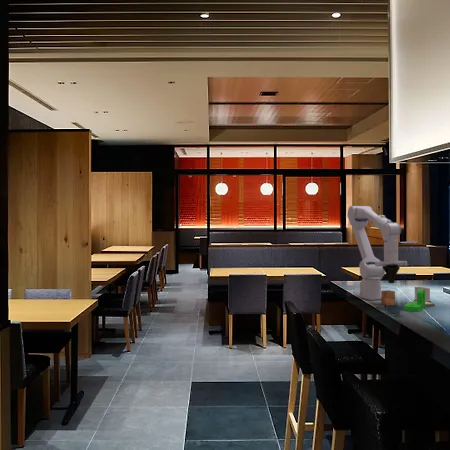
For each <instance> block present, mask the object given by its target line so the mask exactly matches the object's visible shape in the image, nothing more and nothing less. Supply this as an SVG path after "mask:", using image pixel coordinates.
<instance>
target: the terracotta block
mask: <svg viewBox="0 0 450 450" xmlns="http://www.w3.org/2000/svg"><path fill="white" fill-rule="evenodd" d="M380 305H384V306H387V307H388V306H395V305H396V291H395V290H389V289H387V290H381V299H380Z"/></svg>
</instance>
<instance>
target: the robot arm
mask: <svg viewBox="0 0 450 450" xmlns="http://www.w3.org/2000/svg"><path fill="white" fill-rule="evenodd" d="M346 215H347V218H348V222H349V224H350V225H351V228H352V232H353V235H354V238H355V240H356V243H357V247H358V250H359V253H360V256H361V259H362V260H361V261H360V262H359V265H358V266H359V274H360V276H361V277H362V279H360V282H359V296H358V298H360V299H365V300H368V301H371V300H373V301H374V300H381V291H382V289H381V288H382V286H381V285H382V284H381V283H382V282H381V281H382V280H383V277H384V276H385V275H386V278H387V281H388V284H395V281H396V280H395V279H396V276H397V274H398V272H399V270H400V267H401V266H408V261H407V260H399V236H400V235H401V233H402V227H401V225H400V224H399V223H398V222H393V221H392V220H391V219H389V218H387V217H386V215H384V214H380V215H378V214H377V213H376V212H375V211H373V208H372V207H371V206H369V205H350V206H349V207H348V209H347V214H346ZM370 221H371V222H372V223H373V226H374V227H375V228H376V229H378V230H379V231H380V232H381V236H382V240H383V260H381V259H379V258H377V257H376V256H375V255H374V252H373V249H372V246H371V244H370V243H371V242H370V241H369V238H368V234H367V231H366V229H365V227H366V226H368V223H369V222H370Z"/></svg>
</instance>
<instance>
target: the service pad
mask: <svg viewBox="0 0 450 450" xmlns="http://www.w3.org/2000/svg"><path fill="white" fill-rule="evenodd" d="M428 307H429V308H430V307H436V305H435V303H434V302H433V303H432V302H431V303H429V302H425V308H428Z"/></svg>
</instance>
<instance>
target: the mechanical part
mask: <svg viewBox="0 0 450 450" xmlns="http://www.w3.org/2000/svg"><path fill="white" fill-rule="evenodd" d="M424 309H426V307H425V290H424V289H418V291H417V301H409V302H407V303H405V304H404V311H407V312H416V313H417V312H418V313H419V312H421V311H422V310H424Z"/></svg>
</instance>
